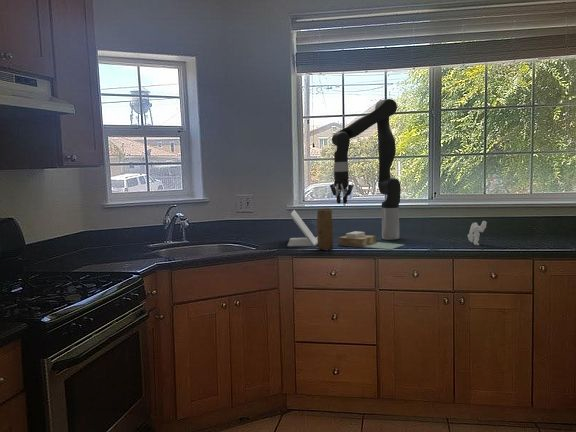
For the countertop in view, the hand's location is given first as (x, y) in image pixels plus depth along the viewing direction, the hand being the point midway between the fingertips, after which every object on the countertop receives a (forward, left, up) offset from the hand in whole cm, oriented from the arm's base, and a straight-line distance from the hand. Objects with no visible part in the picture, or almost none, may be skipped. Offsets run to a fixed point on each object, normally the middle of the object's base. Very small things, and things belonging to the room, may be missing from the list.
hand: (341, 203), depth 275 cm
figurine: (-29, +61, -21) cm, 71 cm away
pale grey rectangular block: (0, +8, -17) cm, 19 cm away
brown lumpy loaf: (+19, +2, -21) cm, 29 cm away
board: (0, +9, -21) cm, 23 cm away
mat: (-1, +24, -21) cm, 32 cm away
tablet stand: (+7, -19, -22) cm, 30 cm away
